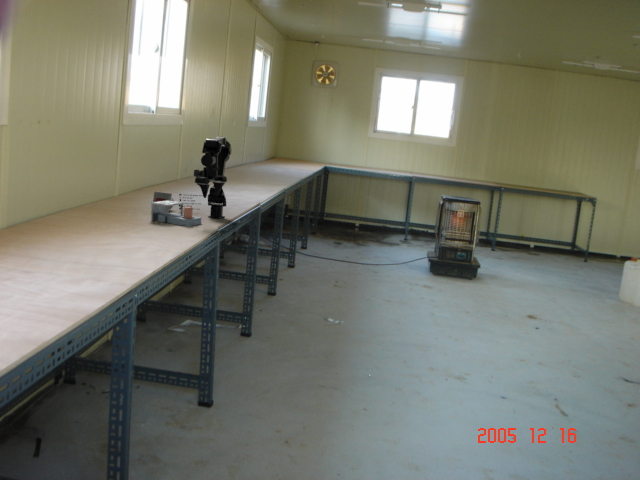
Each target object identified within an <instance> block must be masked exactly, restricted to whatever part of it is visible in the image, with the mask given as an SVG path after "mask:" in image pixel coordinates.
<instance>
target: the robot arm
mask: <svg viewBox="0 0 640 480" xmlns="http://www.w3.org/2000/svg"><path fill="white" fill-rule="evenodd" d="M231 144H232V143H230V142H229V141H228V140H227V137H226V136H218V135H217V136H216V137H214V138H211V139H210V138H205V140H204V142H203V147H202V151H201V154H204V155H202V157H201V158H200V163H201V165H202V166H203V169H201V170H199V169H194V170H193V176H194V177H195V178H194V183H195V184H196V185H198V187H200V190H201V193H202V195H203V196H202V197H203V198H204V199H206V198H207V206H209V207H210V214H209V215H208V216H207V217H208V218H212V219H223V218H226V216H224V215H223V214H224V212H223V211H224V210H223V209H224V207H227V199H226V195H225V191H224V189H223V187H224V185H225V184H226V183H227V182H228V181H227V179H228V178H227V176H225V170H226V163H227V162H228V161H229V160H230V158H231V157H230V156H231V155H232V145H231ZM210 182H211V183H212V184H213V186H211V187H210V185H211V184H209V183H210Z"/></svg>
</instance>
